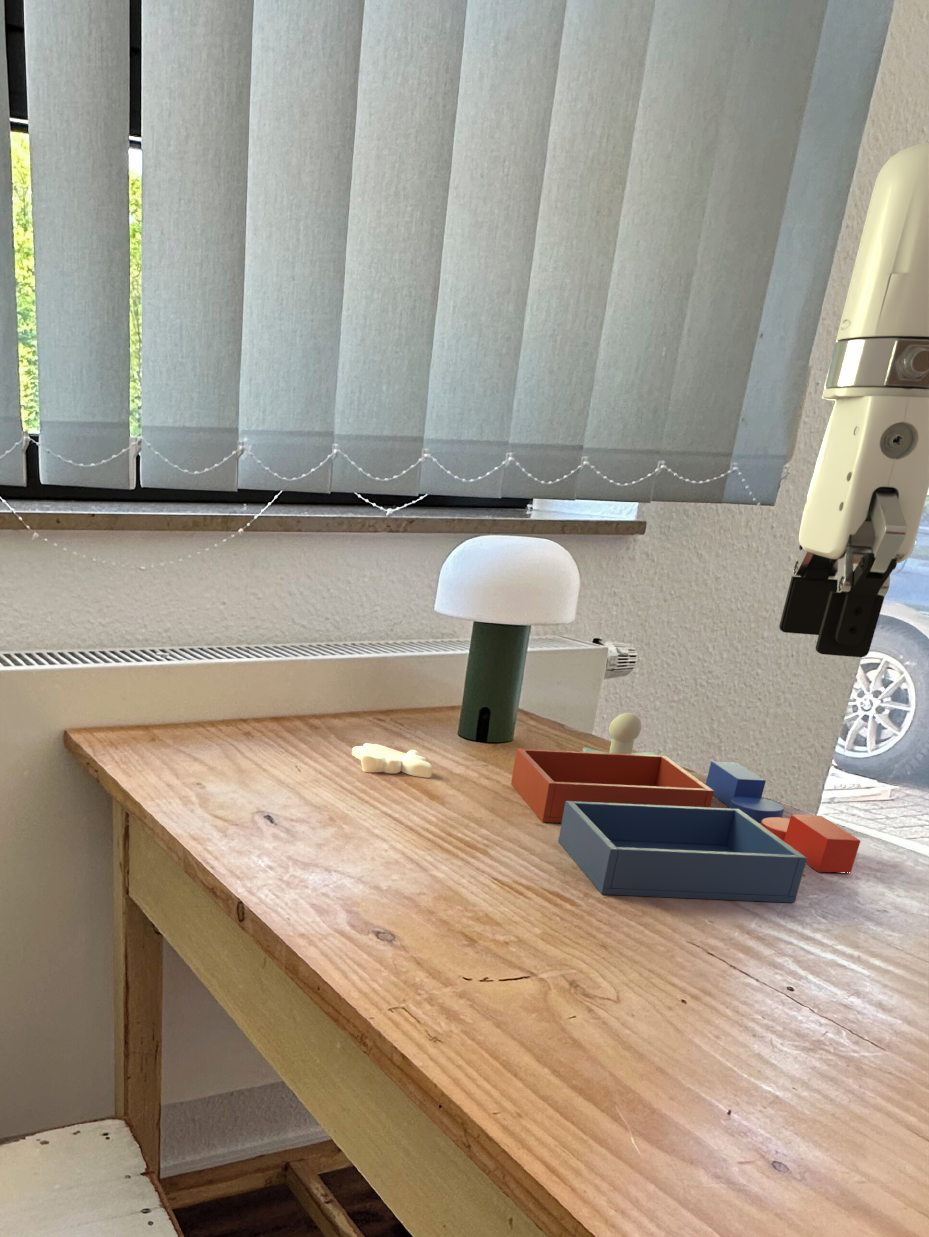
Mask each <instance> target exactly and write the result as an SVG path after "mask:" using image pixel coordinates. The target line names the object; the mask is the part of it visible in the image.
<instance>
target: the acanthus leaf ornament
mask: <svg viewBox="0 0 929 1237" xmlns="http://www.w3.org/2000/svg"><path fill="white" fill-rule="evenodd" d="M351 756H352V757H355V759H356V760H359V761H360V764H361V769H362V771H363V772H365V773H385V774H398V773H400V772H402V773H404V774H407V775H409V776H413V777H419V778H427V779H430V778H431V776H432V774H433V770H434V767H433V765H432V764H431V763H430V762H428V761H427V758H426V757H424V756H422V755H420V753H419V751H417V750H416V749H410V750H408V751H407V752H403V751H399V750H397V749H395V748H394V749H393V748H391V747H388V746H385V745H381V744H377V743H369V742H366V743H363V745H358V746H357V745H356V746H353V747H352V748H351Z"/></svg>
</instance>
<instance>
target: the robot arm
mask: <svg viewBox="0 0 929 1237" xmlns="http://www.w3.org/2000/svg"><path fill="white" fill-rule="evenodd" d="M867 209H868V210H867V212H866V217H865V219H864V225H863V229H862V233H861V237H860V241H859V244H858V248H857V254H856V257H855V261H854V265H853V269H852V274H851V277H850V281H849V286H848V290H847V294H846V298H845V302H844V306H843V309H842V314H841V319H840V322H839V327H838V331H837V335H836V339H835V344H834V347H833V350H832V355H831V359H830V364H829V367H828V371H827V375H826V379H825V383H824V389H823V392H822V395H821V399H822V400H827V401H835V402H834V405H833V407H832V408H833V409H832V410H831V414H830V417H829V421H828V423H827V426H826V429H825V430H824V436H823V439H822V442H821V446H820V449H819V452H818V457H817V460H816V463H815V465H814V466H815V467H814V470H813V474H812V477H811V481H810V485H809V488H808V493H807V496H806V499H805V503H804V504H805V505H804V508H803V512H802V517H801V522H800V526H799V527H800V528H799V534H798V543H799V547H798V549H799V550H800V552H799V555H798V556H797V558H796V560H795V562H794V565H793V569H792V575H791V578H790V582H789V586H788V590H787V594H786V598H785V601H784V605H783V610H782V613H781V618H780V621H779V627H778V628H779V630H780V631H781V632H783V633H786V634H800V635H812V636H817V640H816V644H815V651H816V652H817V653H819V655H827V656H840V657H849V658H851V657H853V658H865V657H866V656H868V655H869V653H870V650H871V646H872V644H873V643H872V642H873V638H874V636H875V632H876V628H877V626H878V621H879V618H880V615H881V611H882V609H883V603H884V600H885V598H886V597H885V596H886V595H887V593H888V592H889V588H890V583H891V582H890V581H891V574H892V573H893V571H894V570H895V569H896V568H897V565H898V564H900V563H902V562H904V561H905V560H907V559H908V558H909V557H910V556H911V555H912V553H913V550H914V547H915V544H916V540H917V536H918V532H919V528H920V524H921V521H922V516H923V512H924V508H925V504H926V499H927V496H928V491H929V141H926V142H921V143H918V144H914V145H911V146H909V147H906V148H904V149H901V150H899V151H897V152H896V153H895V154H893V155H892V156H891V157H889V159H888V160H887V161H886V162H885V163H884V164H883V165H882V167H881V169H880V171H879V172H878V174H877V176H876V179H875V182H874V185H873V189H872V193H871V196H870V199H869V204H868V208H867ZM854 564H855V565H856V566H855V568H854ZM836 576H837V578H835V577H836ZM834 578H835V579H834Z"/></svg>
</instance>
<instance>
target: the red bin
mask: <svg viewBox="0 0 929 1237" xmlns="http://www.w3.org/2000/svg"><path fill="white" fill-rule="evenodd" d="M510 785H511V786H512V787H513V788H514V790H515V791H516V792H517V793H518V795H519V796H520V797H521V799H523V800H524V802H525V803H526V804H527V805H528V807H529V809H531V810H532V811H533V813H534V814H535V815H536V816H537V817H538V819H539V820H540V822H542V823H549V824H550V823H551V824H552V823H553V824H561V823H562V818H563V812H564V807H565V802H566V801H579V802H600V803H622V804H644V805H665V806H687V807H708V808H712V802H713V797H714V796H713V794H714V790H712V789H711V788H709V787H708V786H707V785H706V783H704V782H703V781H701V780H700V779H698V778H697V777H696V776H694V775H693V774H691V773H690V772H689V771H688V770H686V769H684V768H683V767H681V766H680V765H679V764H677V763H676V762H675V761H674V760H672V759H671V758H669V757H668V756H667V755H664V754H663V755H661V754H659V755H643V754H622V753H609V752H608V753H601V752H584V751H581V750H580V751H576V750H574V751H573V750H556V749H536V748H516V751H515V756H514V763H513V770H512V775H511V781H510Z"/></svg>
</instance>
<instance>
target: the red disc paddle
mask: <svg viewBox="0 0 929 1237" xmlns="http://www.w3.org/2000/svg"><path fill="white" fill-rule="evenodd" d="M760 824H761V825H762V826H763V827H765V828H766V829H767V830H769V831H770V832H772V833H773V834H774V835H776V836H777V837H779V838H780V839H781V840H783V841H784V842H785V843H787V844H788V845H790V846H791V847H792V848H794V849H795V850H797V851H798V852H799V853H801V854H802V855H803V856H805V857H806V858H807V861H806V863H807V864H806V865H807V866H809V867H810V866H811V867H810V868H811V869H813V868H814V869H815V870H814V869H813V870H814V871H816V870H817V871H819V872H818V873H821V872H845V873H847V872H848V873H849V872H851V873H852V870H853V867H854V864H855V861H856V857H857V855H858V851H859V848H860V844H861V840H860V839H858V838H857V837H855V836H854V835H852V834H851V833H850V832H848V831H846V830H845V829H843V828H842V827H840V826H838V825H836V823H834V822H833V821H830V820H829V819H827V818H826V817H824V816H822V815H810V814H790V817H788V818H787V817H782V818H780V817H770V818H765V819H763V820H762V821H761V823H760ZM817 871H816V872H817Z"/></svg>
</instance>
